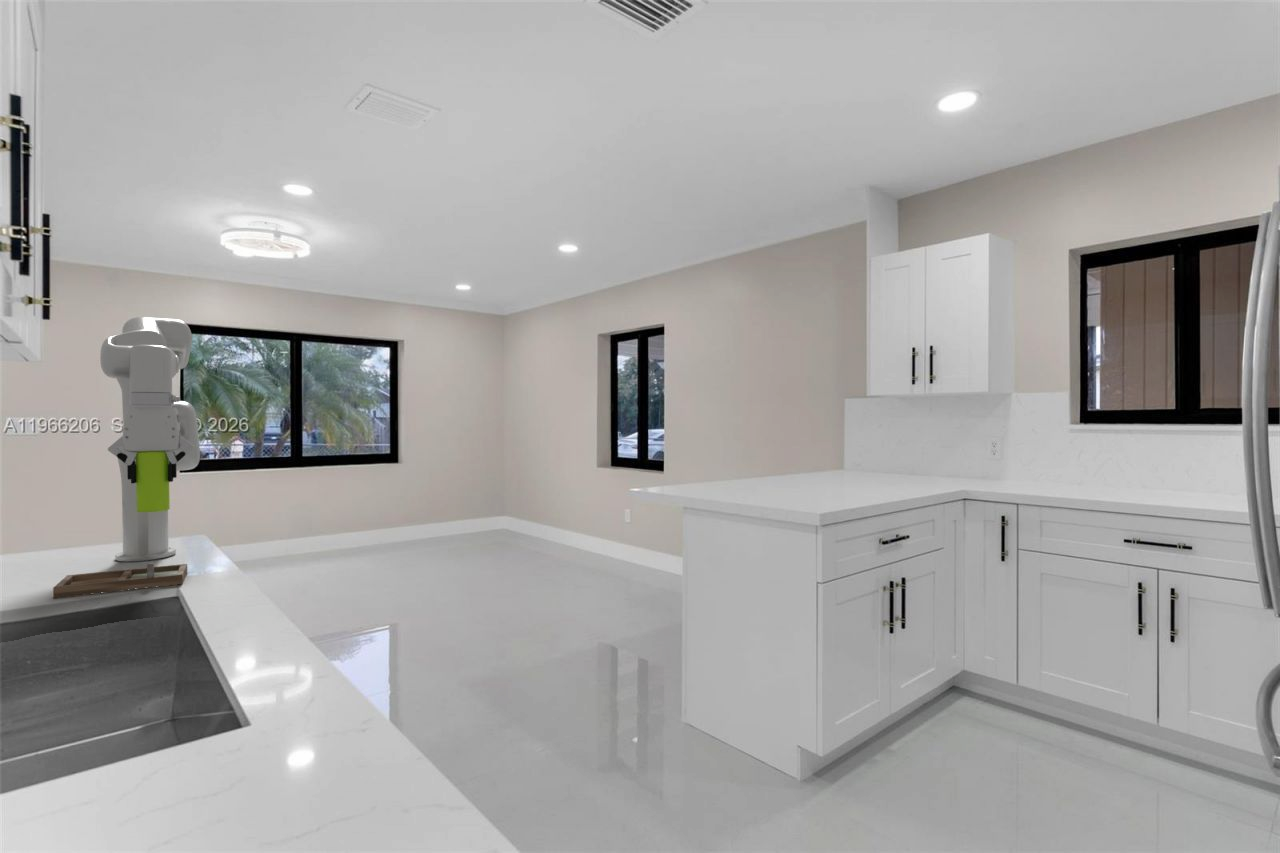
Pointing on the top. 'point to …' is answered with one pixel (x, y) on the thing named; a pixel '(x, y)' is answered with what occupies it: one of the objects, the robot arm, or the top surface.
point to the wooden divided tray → (120, 580)
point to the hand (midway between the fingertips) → (152, 481)
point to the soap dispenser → (152, 481)
